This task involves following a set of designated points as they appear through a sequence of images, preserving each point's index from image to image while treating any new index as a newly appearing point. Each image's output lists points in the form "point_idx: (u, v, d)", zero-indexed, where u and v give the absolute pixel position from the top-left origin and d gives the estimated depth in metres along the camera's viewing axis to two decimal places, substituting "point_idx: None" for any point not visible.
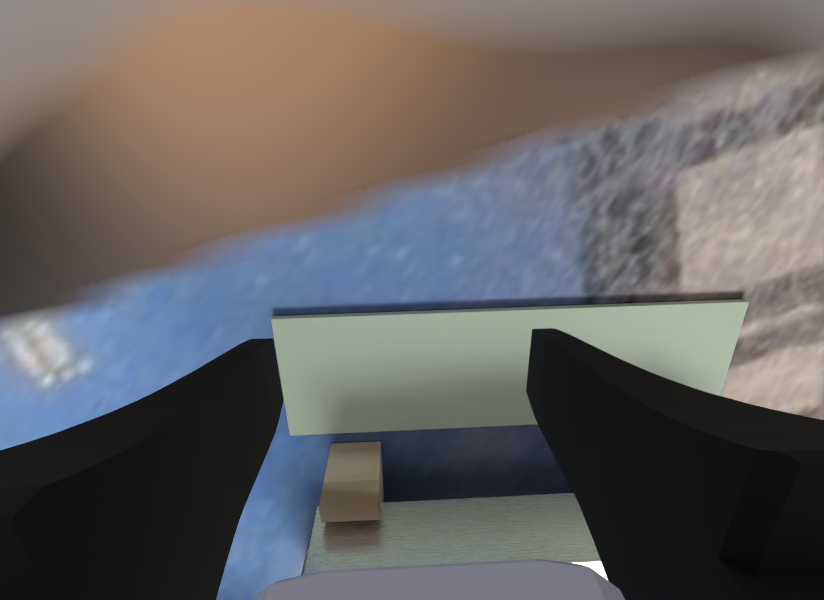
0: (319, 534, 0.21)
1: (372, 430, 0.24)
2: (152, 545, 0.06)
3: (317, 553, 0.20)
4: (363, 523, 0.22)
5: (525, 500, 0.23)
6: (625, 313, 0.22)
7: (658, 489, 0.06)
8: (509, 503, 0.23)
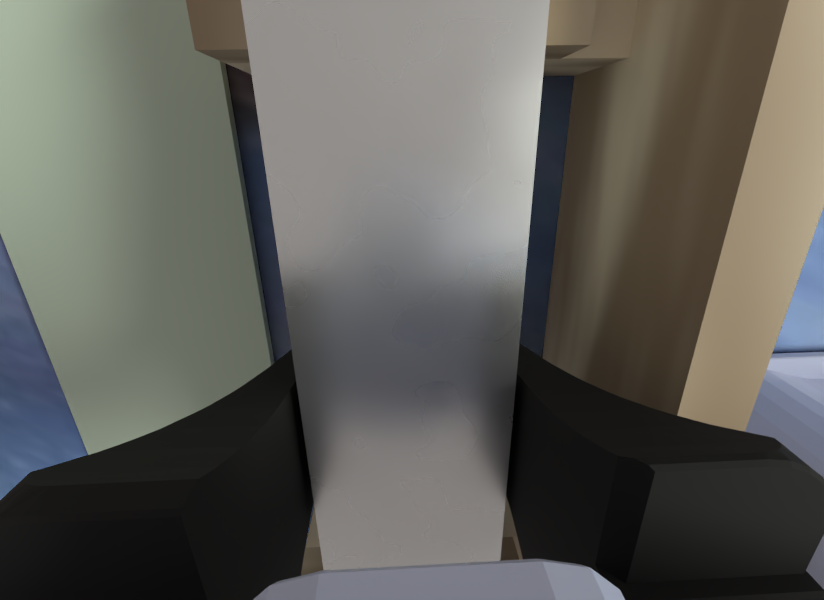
0: None
1: None
2: (261, 539, 0.06)
3: None
4: None
5: None
6: None
7: (558, 494, 0.06)
8: None
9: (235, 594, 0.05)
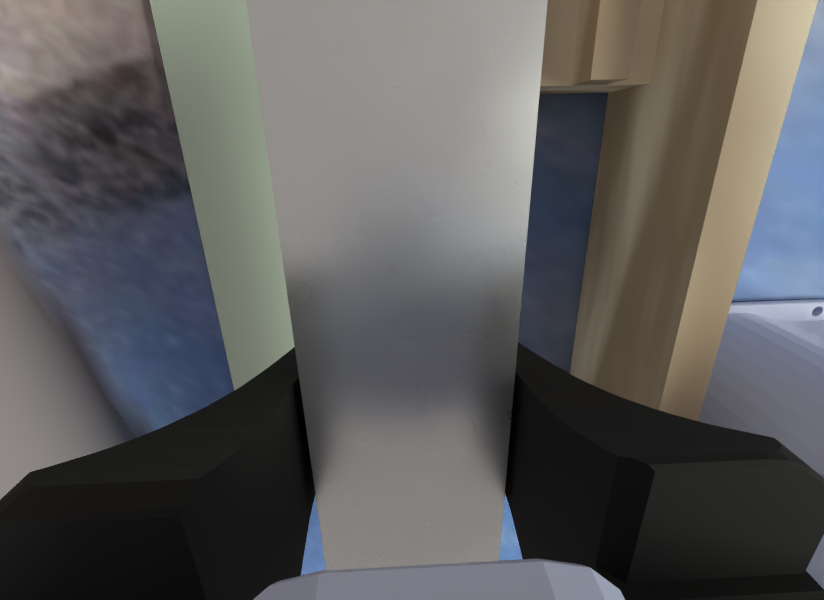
0: None
1: None
2: (260, 539, 0.06)
3: None
4: None
5: None
6: (190, 141, 0.17)
7: (558, 494, 0.06)
8: None
9: (234, 594, 0.05)
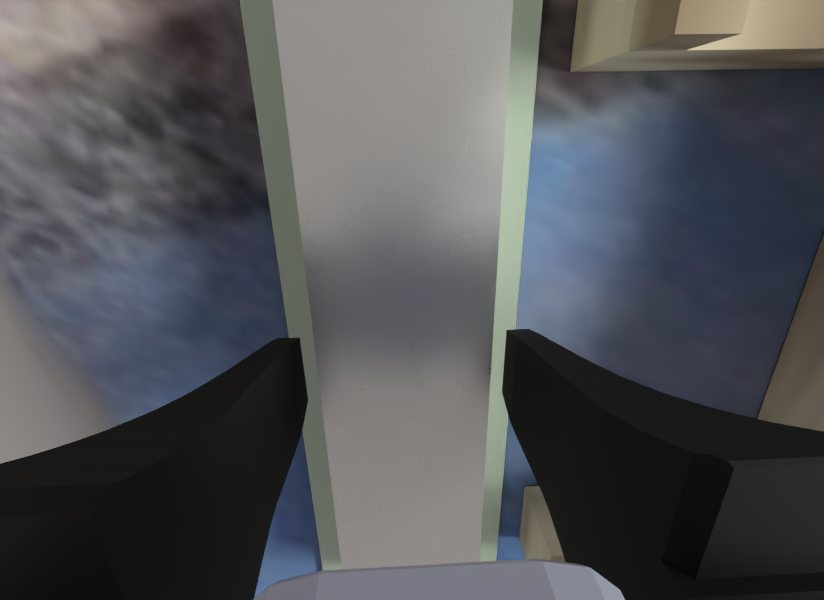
0: None
1: (498, 504, 0.17)
2: (203, 542, 0.06)
3: None
4: None
5: None
6: (274, 135, 0.11)
7: (612, 491, 0.06)
8: None
9: (166, 598, 0.05)
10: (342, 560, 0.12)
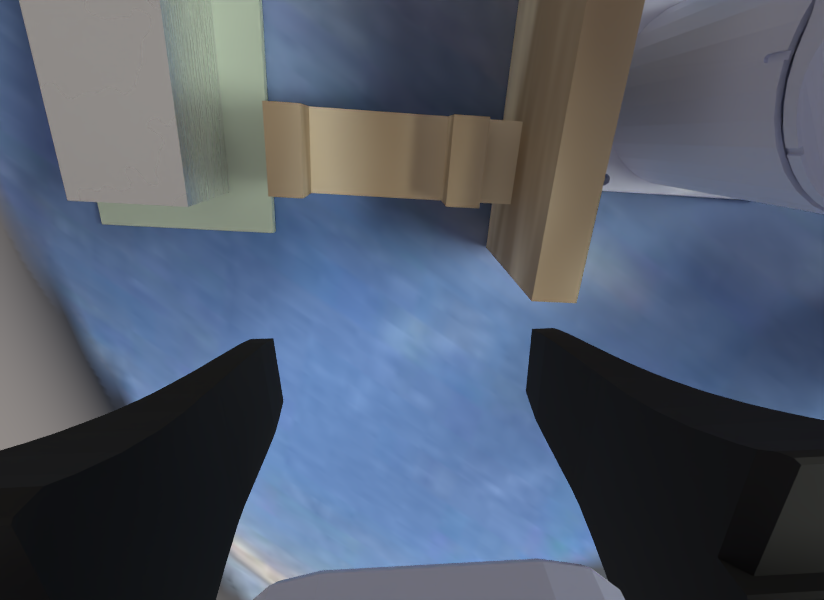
0: None
1: None
2: (152, 545, 0.06)
3: None
4: None
5: None
6: None
7: (658, 489, 0.06)
8: None
9: None
10: None
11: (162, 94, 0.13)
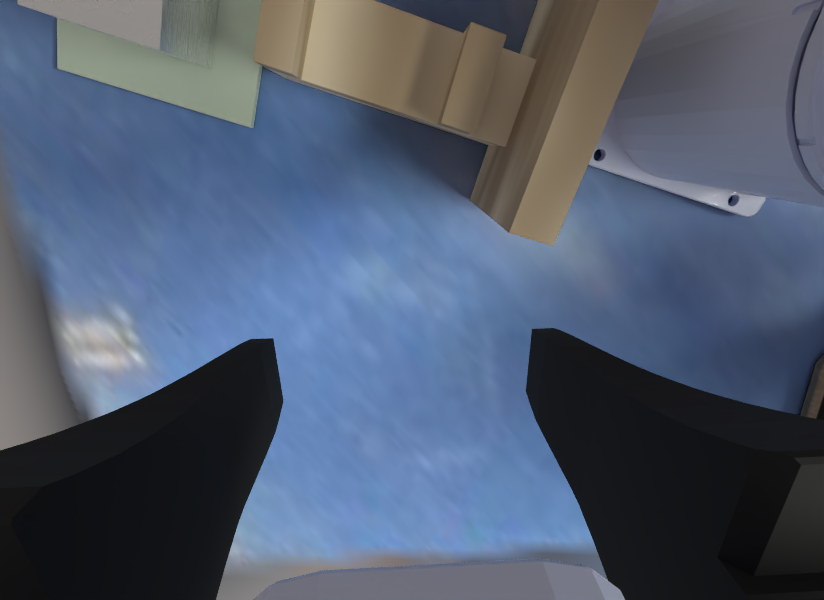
0: None
1: None
2: (152, 545, 0.06)
3: None
4: None
5: None
6: None
7: (658, 489, 0.06)
8: None
9: None
10: None
11: None
